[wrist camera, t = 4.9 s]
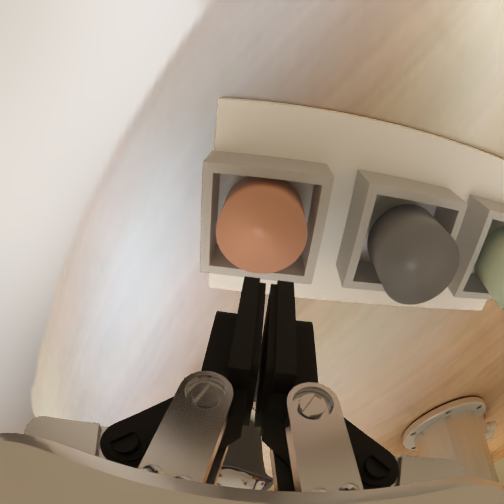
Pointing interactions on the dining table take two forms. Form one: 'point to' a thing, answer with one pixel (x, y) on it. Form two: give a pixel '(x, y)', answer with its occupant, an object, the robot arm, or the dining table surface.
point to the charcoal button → (412, 254)
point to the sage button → (492, 265)
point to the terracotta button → (262, 225)
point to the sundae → (245, 461)
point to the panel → (349, 195)
